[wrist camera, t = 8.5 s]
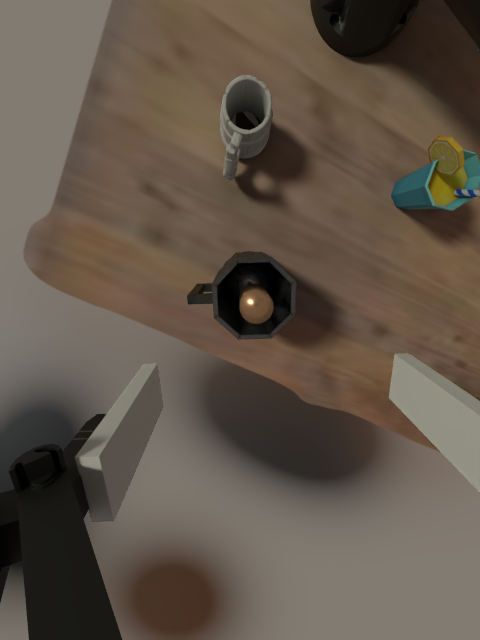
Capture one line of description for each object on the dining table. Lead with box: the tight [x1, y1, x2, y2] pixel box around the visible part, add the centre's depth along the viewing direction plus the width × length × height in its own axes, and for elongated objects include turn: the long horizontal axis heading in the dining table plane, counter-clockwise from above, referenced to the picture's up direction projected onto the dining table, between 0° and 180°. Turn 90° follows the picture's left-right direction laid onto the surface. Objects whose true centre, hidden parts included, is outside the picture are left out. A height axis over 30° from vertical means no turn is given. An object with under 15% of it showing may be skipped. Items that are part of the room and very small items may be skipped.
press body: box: [187, 252, 296, 340], centre depth 43 cm, size 15×11×15 cm
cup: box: [391, 136, 480, 211], centre depth 39 cm, size 14×8×15 cm, turn 56°
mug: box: [220, 75, 273, 180], centre depth 38 cm, size 8×12×12 cm, turn 159°
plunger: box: [232, 266, 273, 324], centre depth 40 cm, size 6×6×17 cm
